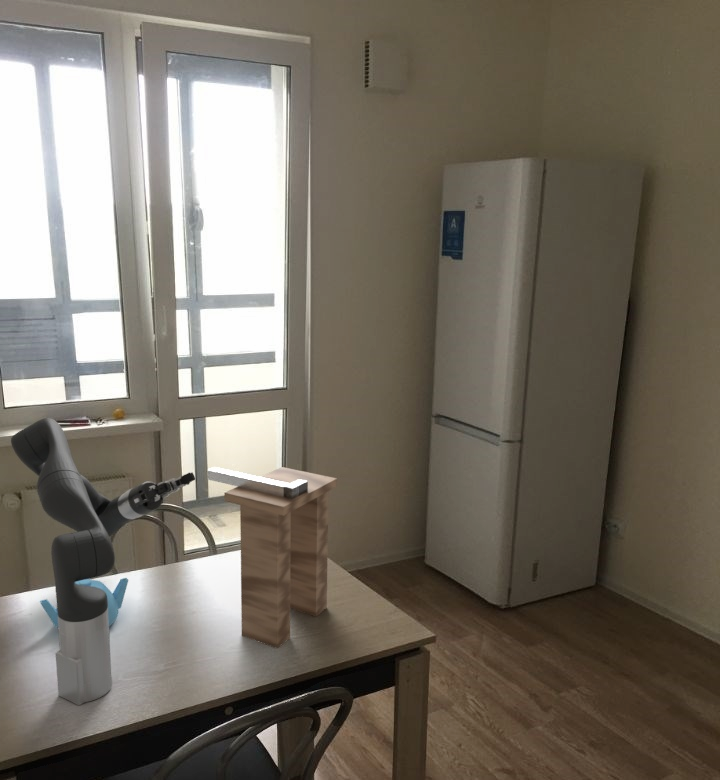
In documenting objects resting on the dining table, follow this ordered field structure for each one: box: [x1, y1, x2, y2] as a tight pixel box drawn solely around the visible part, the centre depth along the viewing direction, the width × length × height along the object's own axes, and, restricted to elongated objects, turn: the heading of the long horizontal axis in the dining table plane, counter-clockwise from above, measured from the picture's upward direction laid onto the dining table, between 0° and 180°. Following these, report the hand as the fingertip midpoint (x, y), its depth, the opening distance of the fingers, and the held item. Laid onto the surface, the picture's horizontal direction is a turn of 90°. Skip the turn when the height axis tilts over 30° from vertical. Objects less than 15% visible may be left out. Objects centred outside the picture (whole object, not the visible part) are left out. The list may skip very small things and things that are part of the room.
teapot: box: [39, 577, 129, 629], centre depth 165 cm, size 15×15×11 cm
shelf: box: [224, 466, 338, 649], centre depth 166 cm, size 22×16×34 cm
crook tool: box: [206, 466, 308, 499], centre depth 162 cm, size 6×24×2 cm, turn 61°
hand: (180, 480), depth 171 cm, fingers open, 8 cm apart
